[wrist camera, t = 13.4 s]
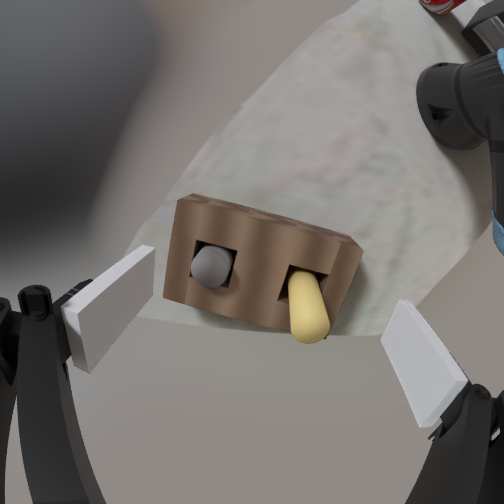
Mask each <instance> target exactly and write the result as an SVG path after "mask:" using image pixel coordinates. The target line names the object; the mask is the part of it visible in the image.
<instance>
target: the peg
mask: <svg viewBox="0 0 504 504" xmlns="http://www.w3.org/2000/svg"><path fill="white" fill-rule="evenodd" d="M287 278H288V292H289V307H290V324H291V333H292V335H293V337H294V338H295V339H296V340H297V341H299V342H302V343H307V344H311V343H316V342H318V341H320V340H322V339H323V338H325V336H326V335H327V334H328V332H329V330H330V322H329V319H328V315H327V312H326V308H325V305H324V301H323V298H322V294H321V291H320V288H319V284H318V281H317V278H316V275H315V271H313V270H309V269H305V268H301V267H298V266H294V265H290V264H289V267H288V270H287Z"/></svg>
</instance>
